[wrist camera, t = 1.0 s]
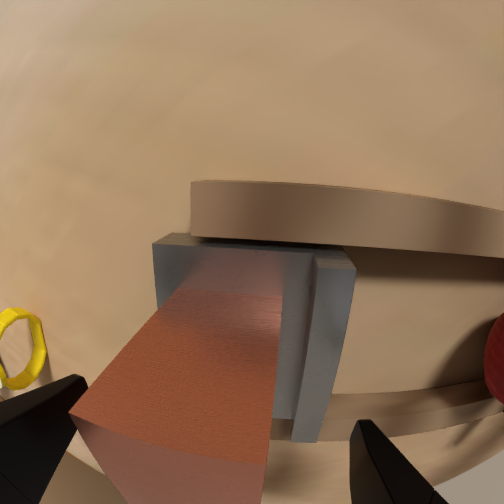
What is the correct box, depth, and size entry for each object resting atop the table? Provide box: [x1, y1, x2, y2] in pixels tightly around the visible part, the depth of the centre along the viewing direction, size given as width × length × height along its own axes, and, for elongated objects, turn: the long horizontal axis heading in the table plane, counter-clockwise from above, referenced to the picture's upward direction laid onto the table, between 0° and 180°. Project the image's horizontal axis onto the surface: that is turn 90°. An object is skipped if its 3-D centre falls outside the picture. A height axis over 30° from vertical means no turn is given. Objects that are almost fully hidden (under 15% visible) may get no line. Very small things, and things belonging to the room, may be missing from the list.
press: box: [68, 233, 357, 504], centre depth 9 cm, size 7×8×9 cm
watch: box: [0, 307, 47, 391], centre depth 14 cm, size 6×3×6 cm, turn 169°
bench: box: [191, 180, 504, 441], centre depth 10 cm, size 22×13×6 cm, turn 88°
